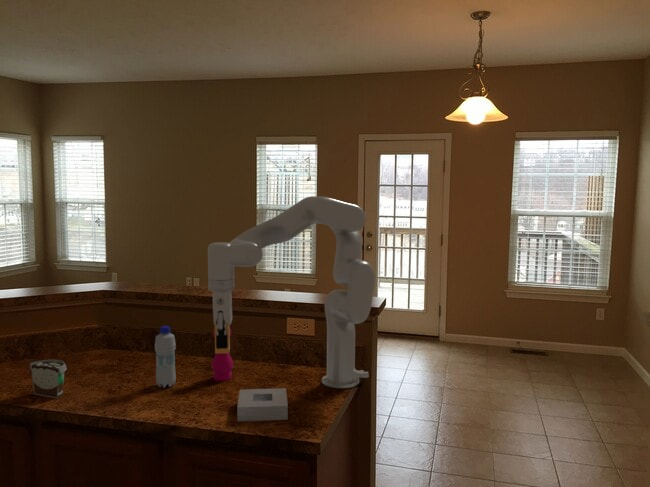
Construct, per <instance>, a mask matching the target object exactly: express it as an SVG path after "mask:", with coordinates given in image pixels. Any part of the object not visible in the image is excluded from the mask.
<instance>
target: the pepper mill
mask: <svg viewBox="0 0 650 487" xmlns="http://www.w3.org/2000/svg"><path fill="white" fill-rule="evenodd" d="M212 334H213V337H214V338H215V328H213V333H212ZM231 335H232V330H231V329H230V337H231ZM233 368H234V362H233V358H232V357H231V354H230V352H229V353H220V354H215V353H214V357H213V360H212V363H211V369H212V370H213V373H212V374H213V376H212V378H213V380H215V381H218V382H220V381H221V382H222V381H223V382H224V381H228V380H231V379H232V377H233V375H232V374H233V373H232V370H233Z"/></svg>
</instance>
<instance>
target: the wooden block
mask: <svg viewBox="0 0 650 487" xmlns="http://www.w3.org/2000/svg"><path fill="white" fill-rule="evenodd" d="M223 324H225V322H223ZM226 325H227V326H226V335H227V341H228V347H227V348H226V349H217V348H216V335H217V326H216V325H215V324H214V329H215V337H214V355H215V354H220V353H229V354H230V351H231V336H230V330H231V328H230V326H231V324H230V325H229V324H226Z"/></svg>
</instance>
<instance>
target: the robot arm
mask: <svg viewBox="0 0 650 487" xmlns="http://www.w3.org/2000/svg"><path fill="white" fill-rule="evenodd" d="M366 222H367V216H366V212H365V211H364V210H363V208H362V207H360V206H359V205H357V204H354V203H348V202H345V201H341V200H338V199H335V198H331V197H328V196H307V197H305V198H303V199H301V200H299V201H297V202H296V203H295V204H293V205H291V206H290V207H289V208H287V209H285V210H284V211H282V212H281V213H279V214H278V215H276V216H275V217H273V218H269V219H267V220H266V221H263V222H262V223H260V224H259V223H258V225H256V226H253V227H251V228H249V229H248V230H246V231H244V232H242V233H241V234H239V235H238V236H236V237H234V239H232V240H231V241H229V242H227V241H226V242H220V241H219V242H218V241H217V242H212V243H210V244H209V245H208V246H207V274H208V276H207V277H208V278H207V280H208V286H207V287H208V292H212V315H213V325H214V326H215V325H216V326H217V335H216V348H217V349H226V348H227V347H228V341H227V335H226V326H227V325H226V324H229V325H230V326H231V325H232V322H233V299H232V298H233V295H232V291H234V290H235V267H243V268H244V267H245V268H250V267H252V268H253V267H255V266H257V265H258V264H259V263H260V262H261V260H262V259H263V250H262V249H263V248H267V247H269V246H272V245H278V244H282V243H285V242H289V241H291V240H292V239H294V238H296V237H297V236H298V235H300V234H302V233H303V232H305V231H306V230H307V229H308V228H309V229H310V228H311V227H312V226H313V225H315V224H321V225H324V226H328V227H329V228H330V230H332V232H333V234H334V236H335V239H336V250H335V256H334V262H333V270H332V277H333V280H334V282H335V283H336V284H337V285H339V286H343V287H346V288H347V290H345V289H334V290H331V291H330V292H329V293H328V294H327V295H326V297H325V299H324V314H325V320H326V375H324V376H322V377H321V383H322V384H323V385H324V386H325V387H327V388H328V387H329V388H334V389H351V388H354V387H356V386H358V385H359V383H360V378H363V379H364V378H365V379H366V378H369V377H370V375H369V371H364V370H363V369H362V370H361V369H360V370H357V369H356V366H355V365H356V364H355V363H356V326H355V325H357V324H362V323H364V322H365V321H366V319H367V318H368V317H369V315H370V312H371V309H372V302H373V296H374V289H375V281H376V280H375V279H376V275H375V271H374V268H373V266H372V265H371V264H370V263H369V262H367V261H366V260H362V251H363V250H362V249H363V239H362V235H361V233H360V230H362V229H363V228H364V227H365V224H366ZM223 322H225V324H223Z"/></svg>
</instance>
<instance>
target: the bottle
mask: <svg viewBox="0 0 650 487" xmlns="http://www.w3.org/2000/svg"><path fill="white" fill-rule="evenodd" d="M175 350H176V338H175V335H174V334H173V333H171V327H170V326H168V325H162V326H161V327H160V328H159V334H157V335H156V336H155V341H154V351H155V366H156V367H155V369H156V370H155V382H156V385H157V386H158V387H159V388H163V389H164V388H165V389H166V387H167V385H168V387H169V388H171V387H172V386H174V385H175V384H176V377H177V375H176V358H175V357H176V355H175V354H176V353H175Z"/></svg>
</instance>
